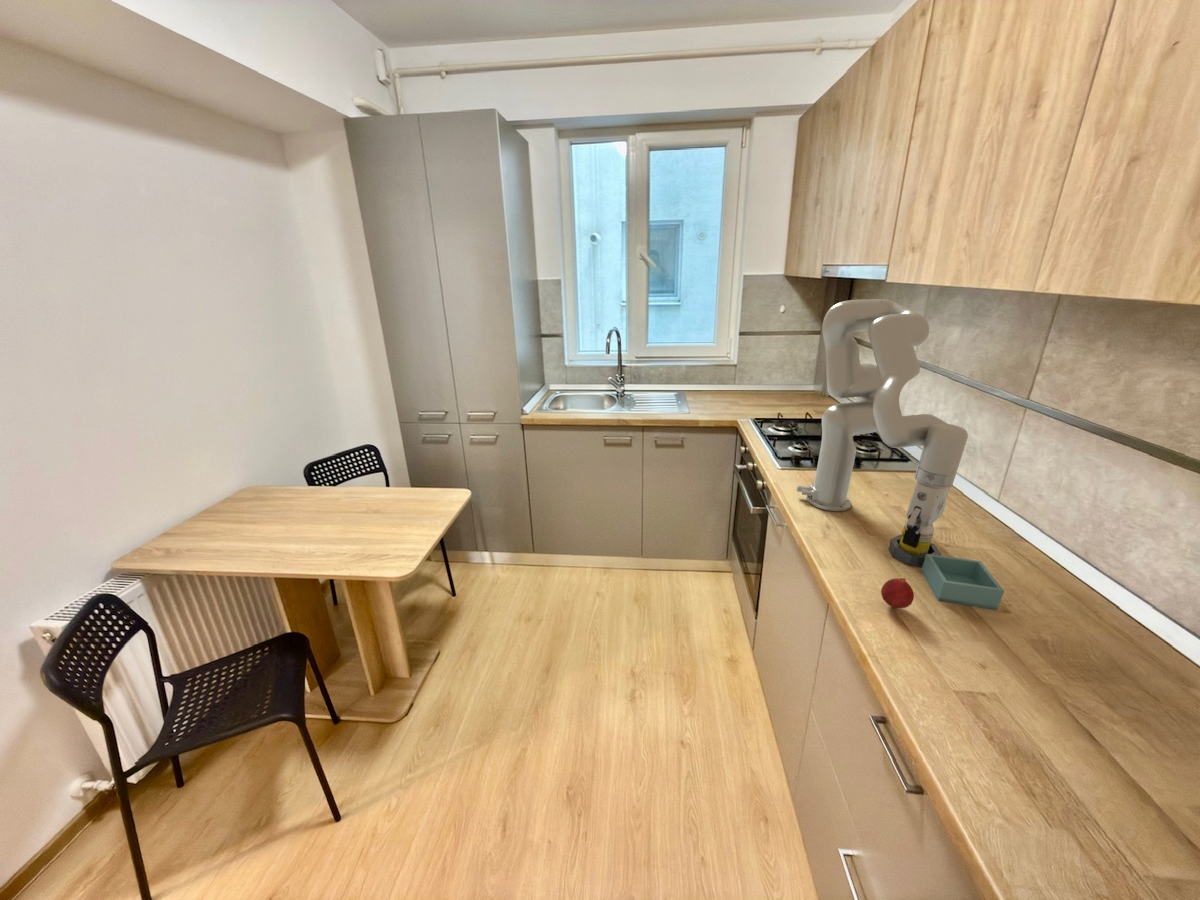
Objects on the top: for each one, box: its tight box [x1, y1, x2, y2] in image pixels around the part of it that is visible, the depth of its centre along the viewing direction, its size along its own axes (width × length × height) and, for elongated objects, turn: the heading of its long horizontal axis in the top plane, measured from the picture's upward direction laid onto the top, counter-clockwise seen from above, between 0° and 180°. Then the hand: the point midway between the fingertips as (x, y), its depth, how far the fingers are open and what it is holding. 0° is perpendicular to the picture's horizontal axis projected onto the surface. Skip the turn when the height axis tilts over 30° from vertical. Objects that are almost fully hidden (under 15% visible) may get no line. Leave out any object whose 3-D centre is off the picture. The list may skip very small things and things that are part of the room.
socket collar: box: [887, 533, 942, 569], centre depth 118 cm, size 10×10×3 cm
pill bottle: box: [899, 518, 935, 555], centre depth 116 cm, size 6×6×11 cm
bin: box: [920, 554, 1005, 611], centre depth 105 cm, size 11×11×5 cm
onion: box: [880, 576, 915, 610], centre depth 99 cm, size 6×6×8 cm
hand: (915, 539), depth 117 cm, fingers closed on pill bottle, 6 cm apart
